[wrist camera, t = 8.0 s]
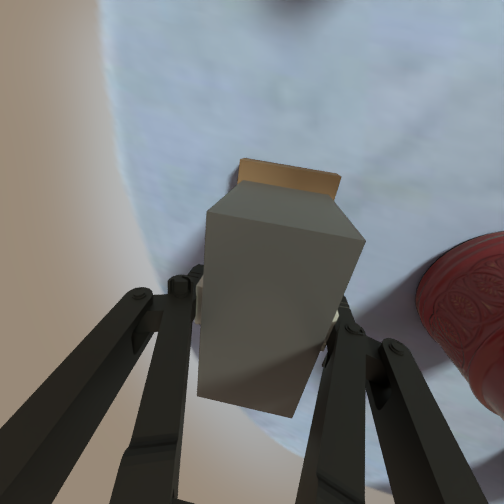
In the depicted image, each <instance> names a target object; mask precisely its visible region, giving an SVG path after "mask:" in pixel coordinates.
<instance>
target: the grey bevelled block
mask: <svg viewBox="0 0 504 504" xmlns="http://www.w3.org/2000/svg"><path fill="white" fill-rule="evenodd" d="M365 242H366V240H365V239H364V238H363V236H362V235H361V234H360V233H359V231H358V230H357V229H356V228H355V227H354V225H353V224H352V223H351V222H350V220H349V219H348V218H347V217H346V215H345V214H344V213H343V212H342V211H341V209H340V208H339V207H338V206H337V204H336V203H335V202H334V201H333V199H332V198H331V197H330V196H329V195H327V194H321V193H315V192H309V191H304V190H298V189H292V188H286V187H281V186H275V185H269V184H264V183H258V182H252V181H246V180H242V181H241V182H240V183H239V184H238V185H237V186H235V187H234V188H233V189H232V190H231V191H230V192H228V193H227V194H226V195H225V196H224V197H223V198H222V199H220V200H219V201H218V202H217V203H216V204H215V205H213V206H212V207H211V208H210V209H209V210H208V211H207V215H206V234H205V253H204V272H203V291H202V310H201V329H200V348H199V367H198V386H197V396H199V397H203V398H207V399H212V400H216V401H220V402H225V403H228V404H233V405H237V406H241V407H246V408H250V409H254V410H258V411H263V412H267V413H271V414H275V415H280V416H284V417H288V418H292V417H293V415H294V413H295V410H296V408H297V405H298V403H299V401H300V398H301V396H302V393H303V391H304V389H305V386H306V384H307V381H308V379H309V377H310V374H311V372H312V369H313V367H314V365H315V362H316V360H317V357H318V355H319V353H320V350H321V348H322V345H323V343H324V341H325V338H326V336H327V333H328V331H329V329H330V326H331V324H332V321H333V319H334V317H335V314H336V312H337V309H338V307H339V305H340V302H341V300H342V297H343V295H344V293H345V290H346V288H347V285H348V283H349V281H350V278H351V276H352V273H353V271H354V269H355V266H356V264H357V261H358V259H359V257H360V254H361V252H362V249H363V247H364V245H365Z"/></svg>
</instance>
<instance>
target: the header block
mask: <svg viewBox="0 0 504 504" xmlns="http://www.w3.org/2000/svg"><path fill="white" fill-rule="evenodd" d="M242 180H246V181H252V182H258V183H264V184H269V185H275V186H281V187H286V188H292V189H298V190H304V191H309V192H315V193H321V194H327V195H329V196H330V197H331V198H332V199H333V201H334V199H335V196H336V193H337V190H338V186H339V183H340V180H341V176H340V175H338V174H336V173H330V172H324V171H319V170H313V169H307V168H301V167H295V166H289V165H283V164H277V163H272V162H266V161H260V160H254V159H248V158H243V159H240V165H239V174H238V183H237V185H238V184H239V183H240V182H241V181H242Z"/></svg>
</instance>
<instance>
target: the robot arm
mask: <svg viewBox="0 0 504 504" xmlns="http://www.w3.org/2000/svg"><path fill="white" fill-rule="evenodd" d="M203 272H204V265H201V264H198V265H197V266H195V267H193V268H192V270H191V271H190V272H189V274H188V275H176V276H173V277H171V278H170V279H169V280H168V294H164V295H153V293H152V291H151V290H150V289H149V288H144V287H140V288H135V289H132V290H130V291H129V292H127V293H126V294H125V295H124V296H123V297H122V299H121V300H120V301H119V302H118V303H117V304H116V305H115V306H114V307H113V308H112V309H111V310H110V312H109V313H108V314H107V315H106V316H105V317H104V318H103V319H102V320H101V321H100V322H99V323H98V325H97V326H96V327H95V328H94V329H93V330H92V331H91V332H90V333H89V334H88V335H87V336H86V337H85V338H84V340H83V341H82V342H81V343H80V344H79V345H78V346H77V347H76V348H75V349H74V350H73V351H72V353H70V354H69V356H68V357H67V358H66V359H65V360H64V361H63V362H62V363H61V364H60V365H59V366H58V367H57V368H56V369H55V371H54V372H53V373H52V374H51V375H50V376H49V377H48V378H47V379H46V380H45V381H44V382H43V383H42V385H41V386H40V387H39V388H38V389H37V390H36V391H35V392H34V393H33V394H32V395H31V397H29V399H28V400H27V401H26V402H25V403H24V404H23V405H22V406H21V407H20V408H19V409H18V410H17V411H16V413H15V414H14V415H13V416H12V417H11V418H10V419H9V420H8V421H7V422H6V423H5V424H4V425H3V426H2V428H1V429H0V504H52V502H53V500H54V499H55V497H56V496H57V494H58V492H59V490H60V489H61V487H62V486H63V484H64V482H65V480H66V479H67V477H68V476H69V474H70V472H71V471H72V469H73V467H74V465H75V464H76V462H77V461H78V459H79V457H80V455H81V454H82V452H83V451H84V449H85V447H86V446H87V444H88V442H89V441H90V439H91V437H92V436H93V434H94V432H95V430H96V429H97V427H98V426H99V424H100V422H101V421H102V419H103V417H104V416H105V414H106V412H107V410H108V409H109V407H110V405H111V404H112V402H113V400H114V399H115V397H116V395H117V394H118V392H119V390H120V389H121V387H122V385H123V384H124V382H125V380H126V379H127V377H128V375H129V374H130V372H131V370H132V369H133V367H134V365H135V364H136V362H137V360H138V359H139V357H140V355H141V353H142V352H143V350H144V349H145V347H146V345H147V344H148V342H149V340H150V339H151V337H152V335H153V334H154V332H158V336H157V340H156V344H155V348H154V351H153V355H152V360H151V363H150V367H149V371H148V375H147V379H146V383H145V387H144V391H143V395H142V399H141V403H140V407H139V411H138V415H137V419H136V423H135V426H134V430H133V435H132V438H131V442H130V444H129V447H128V448H127V449H126V450H125V452H124V454H123V456H122V459H121V463H120V466H119V469H118V473H117V477H116V481H115V484H114V488H113V492H112V496H111V499H110V503H109V504H194V503H190V502H186V501H183V500H179V499H177V498H178V497H177V496H178V482H179V480H178V479H179V469H180V457H181V446H182V435H183V424H184V412H185V402H186V390H187V379H188V367H189V356H190V346H191V334H192V322H193V320H194V318H195V324H200V325H201V310H202V291H203ZM326 345H327V349H328V352H327V355H326V357H325V359H324V361H323V364H322V367H323V371H322V376H321V381H320V386H319V391H318V395H317V400H316V405H315V410H314V415H313V420H312V424H311V429H310V434H309V439H308V444H307V449H306V453H305V458H304V463H303V468H302V473H301V478H300V483H299V487H298V492H297V497H296V502H295V504H365V388H366V392H367V395H368V399H369V403H370V407H371V411H372V415H373V419H374V423H375V427H376V431H377V435H378V439H379V443H380V447H381V451H382V454H383V458H384V462H385V466H386V470H387V474H388V478H389V482H390V486H391V490H392V494H393V498H394V502H395V504H488V502H487V500H486V498H485V496H484V494H483V492H482V490H481V488H480V486H479V484H478V482H477V480H476V478H475V476H474V475H473V473H472V471H471V469H470V467H469V465H468V463H467V461H466V459H465V457H464V455H463V453H462V451H461V449H460V447H459V445H458V443H457V441H456V440H455V438H454V436H453V434H452V432H451V430H450V428H449V426H448V424H447V422H446V420H445V418H444V416H443V414H442V412H441V410H440V408H439V406H438V404H437V403H436V401H435V399H434V397H433V395H432V393H431V391H430V389H429V387H428V385H427V383H426V381H425V379H424V377H423V375H422V373H421V371H420V369H419V368H418V366H417V364H416V362H415V360H414V358H413V356H412V354H411V352H410V351H409V349H408V348H407V347H406V346H405V345H403V344H402V343H401V342H399V341H397V340H394V339H391V338H386V339H384V340H383V341H382V343H381V342H378V341H376V340H374V339H372V338H370V337H368V336H366V334H365V331H364V330H363V328H362V327H360V326H359V325H358V324H356V323H355V321H354V318H353V316H352V313H351V310H350V309H349V305H348V302H347V300H346V297H345V296H344V295H343V297H342V300H341V302H340V305H339V307H338V309H337V312H336V314H335V317H334V319H333V321H332V324H331V326H330V329H329V331H328V333H327V336H326V338H325V341H324V343H323V345H322V348H321V350H320V351H324V349H325V347H326Z"/></svg>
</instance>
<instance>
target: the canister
mask: <svg viewBox="0 0 504 504" xmlns="http://www.w3.org/2000/svg"><path fill="white" fill-rule="evenodd" d="M415 302H416V308H417V312H418V314H419V316H420V319H421V322H422V324H423V326H424V327H425V329H426V330H427V331H428V333H429V335H430V336H431V337H432V338H433V339H434V340H435V341H436V342H437V343H438V344H439V345H440V346H441V347H442V349H443V350H444V351H445V353H446V354H447V355H448V357H449V358H450V359H451V360H452V362H453V363H454V364H455V366H456V367H457V368H458V370H459V371H460V372H461V374H462V375H463V376H464V378H465V379H466V380H467V382H468V383H469V385H470V388H471V390H472V392H473V394H474V395H475V397H476V398H477V399H478V400H479V402H480V403H481V404H482V405H484V406H485V407H486V408H487V409H489V410H490V411H492V412H493V413H495V414H497V415H499V416H500V417H501V418H502V419H503V420H504V231H500V232H495V233H491V234H487V235H483V236H480V237H477V238H474V239H472V240H469V241H467V242H465V243H463V244H461V245H459V246H457V247H455V248H454V249H452V250H450V251H449V252H447V253H446V254H444V255H443V256H442V257H441V258H439V259H438V260H437V261H436V262H435V263H434V264H433V265H432V266H431V267H430V268H429V269H428V271H427V272H426V273H425V275H424V276H423V278H422V279H421V281H420V283H419V286H418V288H417V292H416V298H415Z"/></svg>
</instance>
